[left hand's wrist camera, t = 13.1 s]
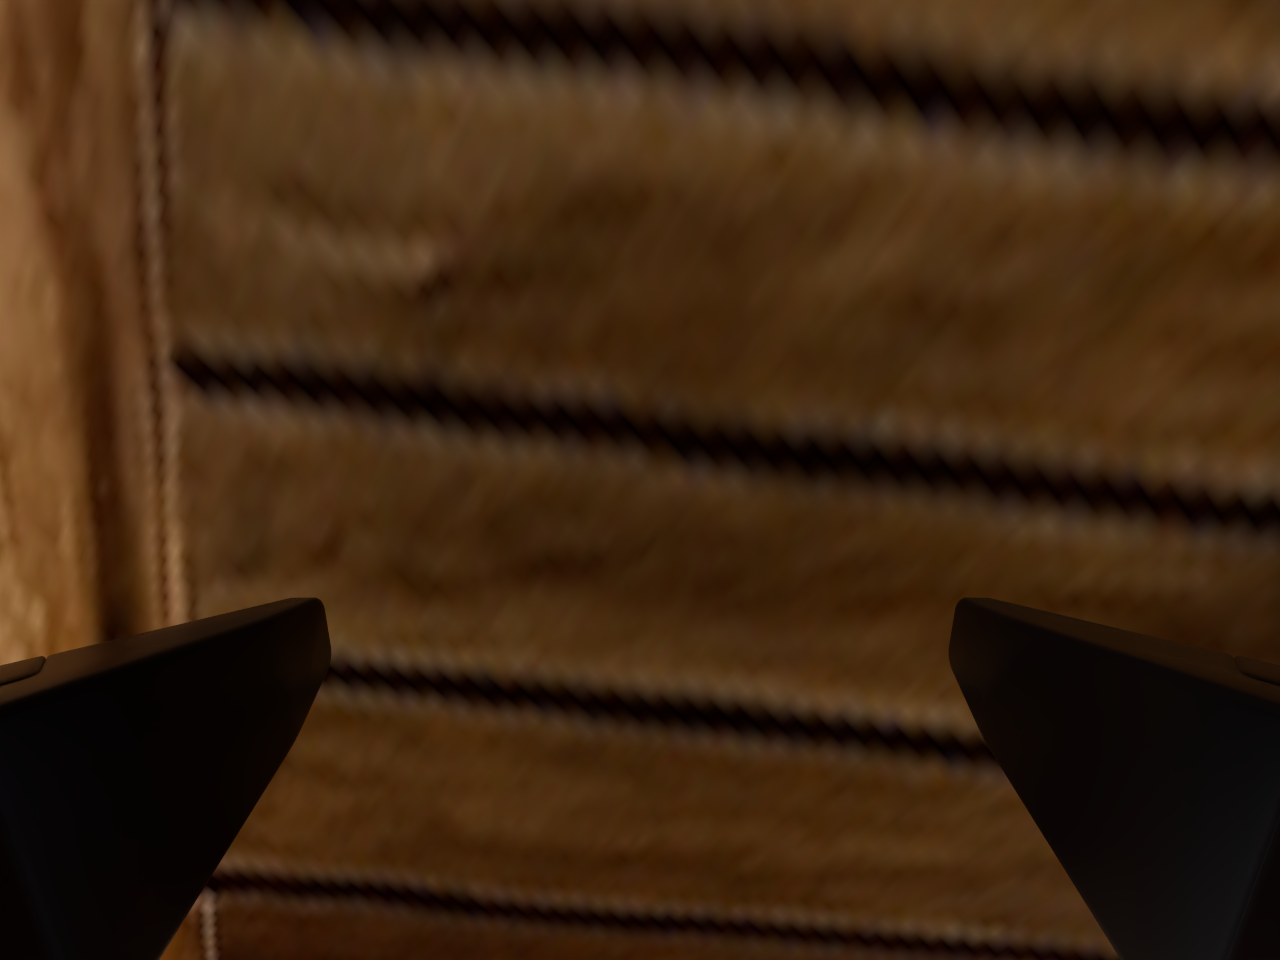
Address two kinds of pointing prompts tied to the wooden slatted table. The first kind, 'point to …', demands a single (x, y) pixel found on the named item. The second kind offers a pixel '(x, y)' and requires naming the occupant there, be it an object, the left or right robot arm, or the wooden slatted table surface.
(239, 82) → the wooden slatted table surface
